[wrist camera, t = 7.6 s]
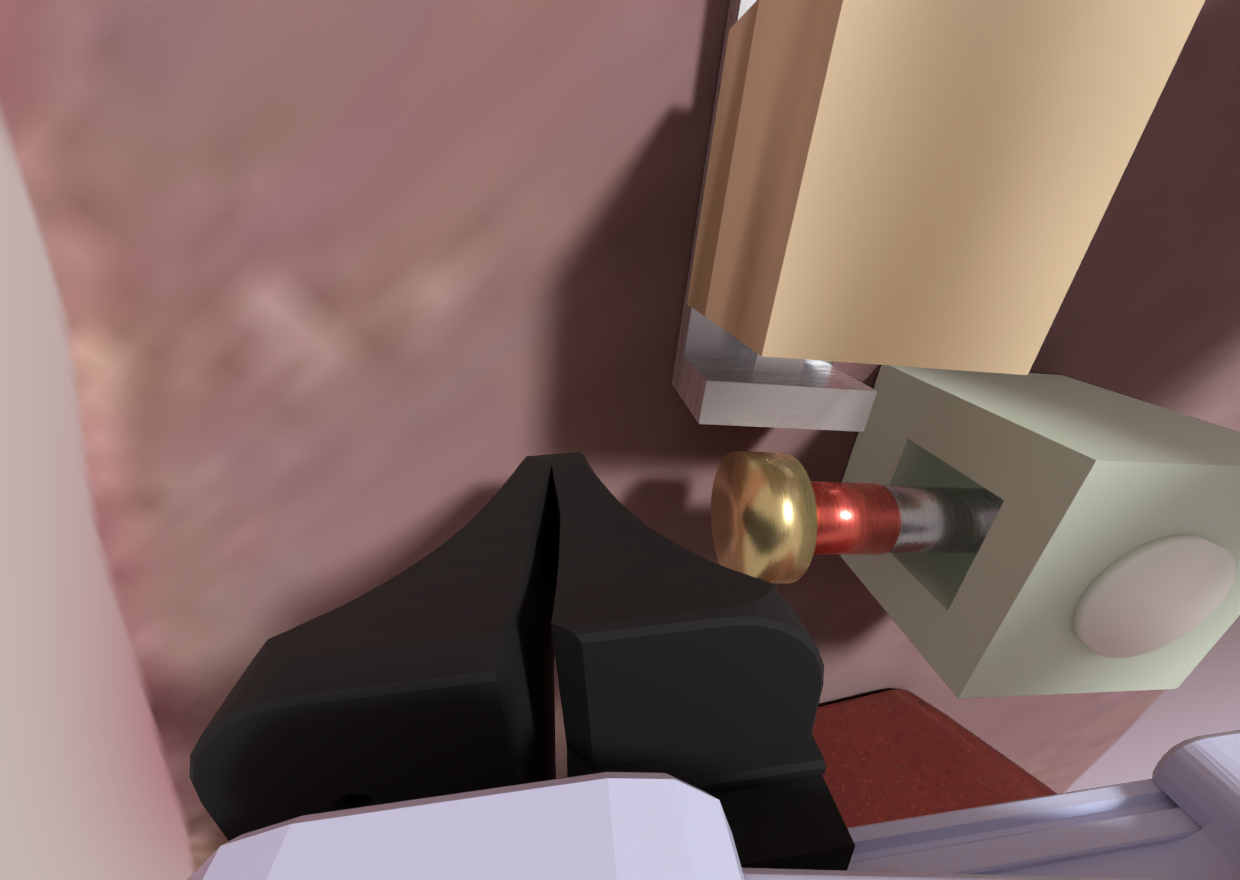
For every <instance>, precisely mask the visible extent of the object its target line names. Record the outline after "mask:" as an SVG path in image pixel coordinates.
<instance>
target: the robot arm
mask: <svg viewBox="0 0 1240 880" xmlns="http://www.w3.org/2000/svg"><path fill="white" fill-rule="evenodd" d="M555 657H556V664H557V672H558V680H559V688H560V696H561V703H562V711H563V719H564V727H565V735H566V742H567V767H568V778H562V779H556V764H555V703H554V659H555ZM823 674H824V664H823V662H822V659H821V656H820V654H819V651H818V648H817V646H816V645H815V643H814V641H813V640H812V638H811V636H810V635H809V633H808V631H807V630H806V628H805V626H804V625H803V623H802V622H801V620H800V619H799V617H798V616H797V615H796V613H795V612H794V610H793V609H792V608H791V606H790V605H789V604H788V603H787V601H786V600H785V599H784V598H783V596H782V595H781V594H780V592H779V591H778V590H777V588H776V587H775V586H774V584H773V583H770V582H767V581H764V580H761V579H758V578H756V577H753V576H750V575H747V574H744V573H741V572H738V571H735V570H732V569H729V568H726V567H724V566H721V565H719V564H716V563H714V562H712V561H710V560H707V559H705V558H703V557H701V556H698V555H696V554H694V553H692V552H690V551H688V550H686V549H684V548H682V547H680V546H679V545H677V544H675V543H674V542H672V541H670V540H668V539H667V538H665V537H663V536H662V535H660V534H658V533H657V532H655V531H654V530H652V529H651V528H649V527H648V526H647V525H645V524H644V523H643V522H641V521H640V520H639V519H638V518H636V517H635V516H634V515H633V514H632V513H631V512H630V511H628V510H627V509H626V508H625V507H624V506H623V505H622V504H621V503H620V502H619V501H618V500H617V499H616V498H615V497H614V496H613V495H612V494H611V492H610V491H609V490H608V489H607V488H606V487H605V485H604V484H603V483H602V482H601V481H600V479H599V478H598V477H597V476H596V474H595V473H594V471H593V470H592V469H591V467H590V466H589V464H588V462H587V460H586V458H585V456H584V455H583V454H581V453H580V452H576V453H564V454H552V455H539V456H527V457H526V458H525V459H524V460H523V461H522V462H521V464H520V465H519V466H518V468H517V469H516V470H515V472H514V473H513V474H512V475H511V477H510V478H509V479H508V480H507V482H506V483H505V484H504V485H503V487H502V488H501V489H500V490H499V491H498V492H497V494H496V495H495V496H494V497H493V498H492V499H491V501H490V502H489V503H488V504H487V505H486V506H485V507H484V508H483V509H482V510H481V511H480V512H479V513H478V514H477V515H476V516H475V517H474V518H473V519H472V520H471V521H470V522H469V523H468V524H467V525H466V526H464V527H463V528H462V529H461V530H460V531H459V532H458V533H456V534H455V535H454V536H453V537H451V538H450V539H449V540H448V541H446V542H445V543H444V544H443V545H441V546H440V547H439V548H437V549H436V550H435V551H433V552H432V553H430V554H429V555H427V556H426V557H424V558H423V559H421V560H420V561H418V562H417V563H415V564H414V565H412V566H411V567H409V568H408V569H406V570H405V571H403V572H402V573H400V574H399V575H397V576H396V577H394V578H392V579H390V580H389V581H387V582H385V583H384V584H382V585H380V586H378V587H377V588H375V589H373V590H371V591H369V592H368V593H366V594H364V595H362V596H360V597H358V598H356V599H355V600H353V601H351V602H349V603H347V604H345V605H343V606H341V607H339V608H337V609H335V610H333V611H330V612H328V613H326V614H324V615H322V616H319V617H317V618H315V619H313V620H311V621H309V622H306V623H304V624H302V625H300V626H298V627H295V628H293V629H291V630H289V631H287V632H284V633H282V634H280V635H277V636H275V637H272V638H270V639H268V640H267V641H266V643H265V644H264V645H263V647H262V648H261V649H260V651H259V652H258V653H257V655H256V656H255V658H254V659H253V660H252V662H251V663H250V665H249V666H248V667H247V669H246V670H245V672H244V673H243V675H242V676H241V678H240V679H239V681H238V682H237V683H236V685H235V686H234V688H233V689H232V691H231V692H230V694H229V695H228V697H227V698H226V700H225V701H224V703H223V704H222V706H221V707H220V709H219V710H218V712H217V713H216V715H215V716H214V717H213V719H212V720H211V722H210V723H209V725H208V726H207V728H206V729H205V731H204V732H203V734H202V735H201V737H200V739H199V741H198V742H197V744H196V746H195V748H194V750H193V751H192V753H191V755H190V778H191V781H192V783H193V785H194V788H195V790H196V792H197V794H198V796H199V798H200V801H201V803H202V804H203V806H204V807H205V808H206V810H207V811H208V813H209V814H210V815H211V817H212V818H213V819H214V821H215V822H216V824H217V825H218V826H219V828H220V829H221V831H222V832H223V833H224V835H225V836H226V838H227V839H228V840H229V842H227V843H225V844H223V845H221V846H220V847H219V848H218V849H217V850H216V851H215V852H214V853H213V854H212V855H211V856H210V857H209V858H208V859H207V860H206V861H205V862H204V863H203V864H202V865H201V866H200V867H199V868H198V869H197V870H196V871H195V872H194V873H193V874H192V876H191V877H190V878H189V879H188V880H1240V730H1236V731H1230V732H1223V733H1218V734H1211V735H1204V736H1197V737H1194V738H1191V739H1188V740H1184V741H1183V742H1181V743H1179V744H1177V745H1176V746H1174V747H1172V748H1171V749H1170V750H1169V751H1168V752H1167V753H1166V754H1165V755H1163V757H1162V758H1161V760H1160V761H1159V762H1158V764H1157V766H1156V767H1155V769H1154V771H1153V777H1152V779H1147V780H1141V781H1135V782H1129V783H1123V784H1116V785H1111V786H1105V787H1098V788H1092V789H1085V790H1079V791H1073V792H1067V793H1061V794H1055V795H1048V796H1042V797H1036V798H1030V799H1024V800H1017V801H1011V802H1005V803H999V804H993V805H987V806H980V807H974V808H968V809H962V810H956V811H949V812H943V813H937V814H931V815H925V816H919V817H912V818H906V819H900V820H894V821H888V822H882V823H875V824H869V825H863V826H857V827H851V828H847V827H846V825H845V822H844V820H843V818H842V816H841V814H840V812H839V810H838V808H837V805H836V803H835V801H834V799H833V797H832V795H831V793H830V791H829V788H828V786H827V784H826V782H825V780H824V778H823V776H822V774H825V771H826V764H825V759H824V757H823V755H822V753H821V751H820V749H819V747H818V745H817V743H816V741H815V739H814V737H813V735H812V732H813V727H814V723H815V718H816V714H817V709H818V705H819V700H820V696H821V691H822V687H823Z"/></svg>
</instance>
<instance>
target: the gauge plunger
mask: <svg viewBox="0 0 1240 880" xmlns="http://www.w3.org/2000/svg"><path fill="white" fill-rule="evenodd" d="M1003 502H1004V500H1003V499H1001V498H1000V497H998V496H997V495H995V494H993V493H992V492H990V491H989V490H987V489H985V488H951V487H917V486H883V485H880V484H877V483H852V482H819V481H810V479H809V477H808V475H807V472H806V470H805V469H804V467H803V466H802V464H801V463H800V462H799V461H798V460H797V459H796V458H795V457H794V456H792V455H790V454H788V453H775V452H750V451H732V452H729V453H728V454H727V455H726V456H725V457H724V458H723V459H722V461H721V463H720V465H719V467H718V470H717V472H716V476H715V480H714V484H713V489H712V497H711V530H712V538H713V544H714V549H715V553H716V557H717V560H718V562H719V565H721V566H724V567H726V568H729V569H732V570H735V571H738V572H741V573H744V574H747V575H750V576H753V577H756V578H758V579H761V580H764V581H767V582H770V583H773V584H791V583H794V582H796V581H798V580H799V579H800V578H801V577H802V576H803V575H804V574H805V572H806V571H807V569H808V567H809V565H810V563H811V560H812V558H813V554H852V555H881V554H885V553H978V551H979V549H980V547H981V545H982V543H983V541H984V539H985V537H986V535H987V533H988V531H989V529H990V527H991V525H992V523H993V521H994V519H995V517H996V515H997V514H998V512H999V510H1000V508H1001V506H1002V504H1003Z"/></svg>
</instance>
